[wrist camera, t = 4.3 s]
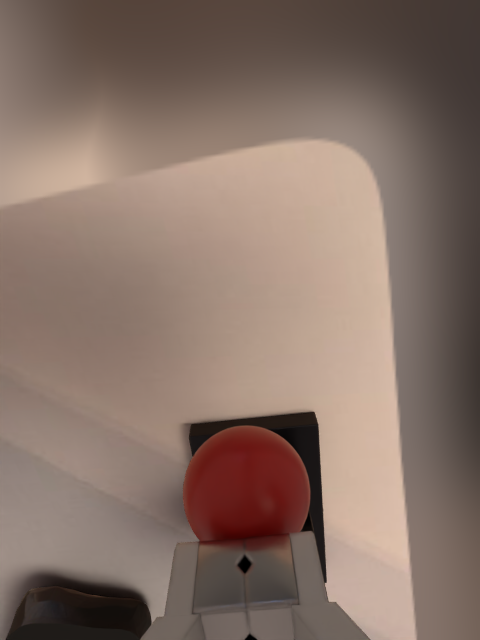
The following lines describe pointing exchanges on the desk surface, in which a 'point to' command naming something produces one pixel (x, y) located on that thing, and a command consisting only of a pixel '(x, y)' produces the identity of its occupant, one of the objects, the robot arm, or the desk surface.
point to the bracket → (304, 440)
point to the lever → (245, 486)
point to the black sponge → (78, 616)
